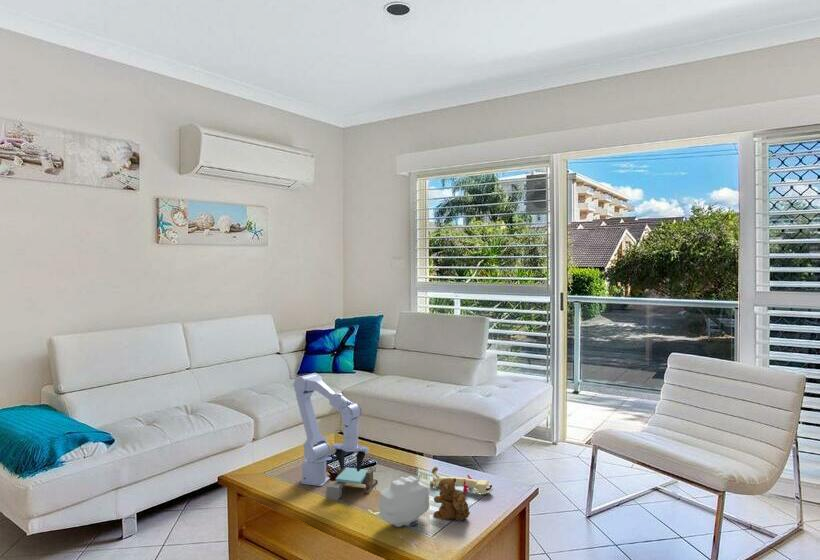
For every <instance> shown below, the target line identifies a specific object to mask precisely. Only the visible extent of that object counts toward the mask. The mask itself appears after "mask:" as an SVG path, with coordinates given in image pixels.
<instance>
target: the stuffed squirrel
mask: <svg viewBox="0 0 820 560" xmlns="http://www.w3.org/2000/svg"><path fill="white" fill-rule="evenodd" d="M456 480H457V479H456V478H453V479H450V478H445V479H443V480H441V481H440V482H439V485H438V487H437V488H436V491H437V492H439V495H436V496H434V497H433V501H434V503H436V504H441V505H440V507H439V508H438V510H437V511H435V512H433V517H435V518H437V519H440V520H442V521H443V520H447V521H448V520H453V519H454V520H456V519H457V520H456V521H459V520H462V521H463V519H464V520H465V519H467V518H469V516H470V515H471V512H470V508H469V505H468V503H467V501H466V498H465V496H464V493H462V492H458V491H457V492H456V486H455V482H456ZM439 490H440V491H439Z"/></svg>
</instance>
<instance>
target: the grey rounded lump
mask: <svg viewBox="0 0 820 560" xmlns="http://www.w3.org/2000/svg"><path fill="white" fill-rule="evenodd" d="M420 480H421V473H419V474H418V476H416V477H414V476H412V475H410V476H409V475H408V476H406V477H403V476H400V477H399V478H398V479H397V480H393V481H392V482H391V483H390V485H389V486H388V487H386V488H385V489H383V490H382V491H381V492H380V493H379V501H378V504H377V506H378V509H379V513H378V514H379V518H381V520H383V521H384V522H385V523H388V524H391V525H394V526H395V527H397V528H401V527H403V526H409V525H410V524H411V523H413V522H414V523H415V522H416V521H417V520H419V518H420V517H421V516H422V515H424V514H425V513H427V512H428V511H429V508H430V496H429V494H430V490H429V487H428V485H426V484H424V483H422V482H421V481H420Z"/></svg>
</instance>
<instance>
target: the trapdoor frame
mask: <svg viewBox="0 0 820 560" xmlns="http://www.w3.org/2000/svg"><path fill="white" fill-rule="evenodd" d="M345 468H346V467H345V465H344V468H343V469H341V468H340V466H339V467H338V468H337V470H336V471H337V472H336V478H337V477H338V476H339V475H340V474H341V472H342V471H343V470H344V469H345ZM367 470H368V471H367V472H366V484H365V488H364V494H370V493H371V491H372V490H373V489H374V488H375V487H376V485H377V484H378V479H375V478H374V469H372V468H369V469H367ZM336 482H338V481H336ZM339 483H342V488H343V487H344V486H345V485H346V484H347V483H346V482H339Z"/></svg>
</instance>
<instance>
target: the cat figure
mask: <svg viewBox="0 0 820 560" xmlns="http://www.w3.org/2000/svg"><path fill="white" fill-rule="evenodd" d="M438 471H439V468H438V467H437V466H434V467H433V469H432V470H431V474H432V475H433V477H432V479H430V481H429V487H430V488H433V487H434V486H435V487H438V485H439V482H440V481H441V480H443V479H445V478H450V479H453V478H456V479H457V480H456V482H455V487H462V490H463V495H466V494H467V493H468V490H469V489H470V490H473V492H476V494H477V495H478V494H479V493H483V494H486V493H487V491H490V490H492V488H493V485H492V483H489V481H488V480H487V479H478V480H477V479H474V478H473V477H471V476H470V475H469V474H467V477H460V476H459V477H458V476H440V474H438V473H437V472H438ZM438 488H439V487H438ZM491 492H492V493H493V491H491ZM486 495H487V494H486Z"/></svg>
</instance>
